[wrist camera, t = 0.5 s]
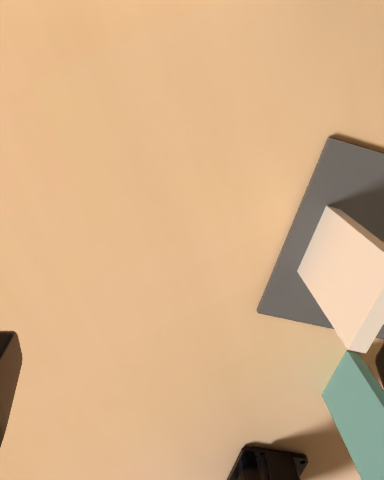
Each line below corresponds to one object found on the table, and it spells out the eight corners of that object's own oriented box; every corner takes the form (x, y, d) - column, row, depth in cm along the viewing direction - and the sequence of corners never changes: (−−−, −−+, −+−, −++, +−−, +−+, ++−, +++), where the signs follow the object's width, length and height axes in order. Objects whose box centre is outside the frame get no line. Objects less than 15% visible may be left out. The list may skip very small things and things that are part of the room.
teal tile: (332, 396, 31) (381, 495, 23) (321, 394, 30) (368, 493, 23) (357, 352, 29) (420, 444, 21) (346, 350, 29) (406, 442, 21)
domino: (310, 274, 25) (366, 353, 18) (297, 271, 25) (348, 349, 18) (340, 209, 23) (416, 268, 16) (326, 205, 23) (397, 263, 16)
